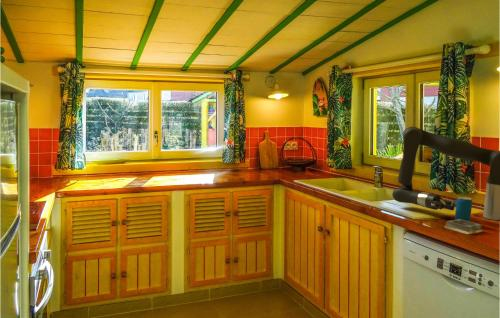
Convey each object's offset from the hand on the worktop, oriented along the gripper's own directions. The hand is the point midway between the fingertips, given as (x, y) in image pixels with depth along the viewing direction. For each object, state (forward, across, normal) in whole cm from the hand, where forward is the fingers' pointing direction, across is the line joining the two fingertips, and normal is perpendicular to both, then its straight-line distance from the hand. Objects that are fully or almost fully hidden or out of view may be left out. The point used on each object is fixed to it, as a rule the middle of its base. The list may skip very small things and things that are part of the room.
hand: (459, 207), depth 203 cm
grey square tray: (+9, -10, +7) cm, 15 cm away
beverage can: (+2, 0, +7) cm, 8 cm away
